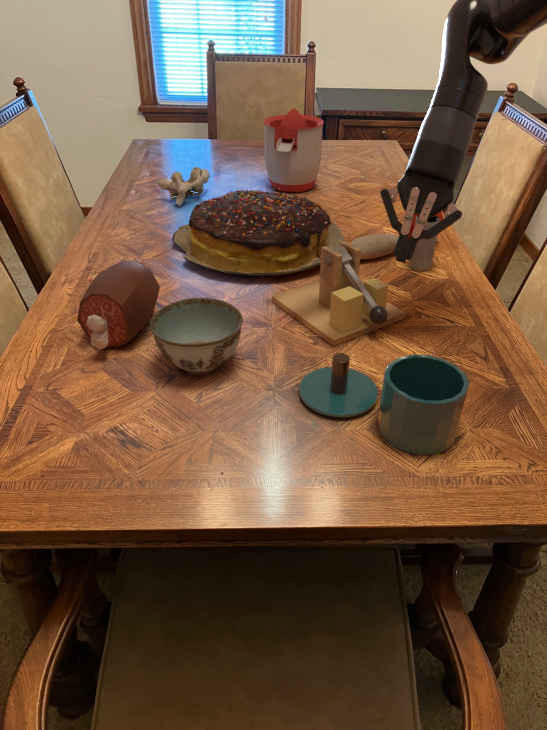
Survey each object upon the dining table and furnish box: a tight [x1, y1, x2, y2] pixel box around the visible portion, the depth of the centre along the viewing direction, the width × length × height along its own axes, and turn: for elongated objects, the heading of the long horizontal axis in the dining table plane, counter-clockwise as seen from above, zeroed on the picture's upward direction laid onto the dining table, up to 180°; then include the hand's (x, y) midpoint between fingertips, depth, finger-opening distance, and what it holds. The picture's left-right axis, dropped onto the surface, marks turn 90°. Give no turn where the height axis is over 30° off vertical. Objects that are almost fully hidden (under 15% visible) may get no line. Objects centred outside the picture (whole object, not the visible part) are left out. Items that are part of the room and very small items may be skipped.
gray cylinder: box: [408, 215, 440, 272], centre depth 114 cm, size 4×4×10 cm
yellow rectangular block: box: [362, 277, 389, 317], centre depth 97 cm, size 3×2×6 cm
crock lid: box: [298, 352, 379, 418], centre depth 81 cm, size 11×11×7 cm
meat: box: [76, 258, 161, 351], centre depth 94 cm, size 20×12×10 cm, turn 170°
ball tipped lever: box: [334, 246, 388, 324], centre depth 95 cm, size 15×3×3 cm, turn 34°
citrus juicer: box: [262, 108, 325, 193], centre depth 151 cm, size 16×17×20 cm
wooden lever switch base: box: [271, 240, 406, 347], centre depth 99 cm, size 18×16×12 cm
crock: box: [377, 354, 470, 456], centre depth 74 cm, size 10×10×8 cm
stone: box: [350, 233, 399, 260], centre depth 119 cm, size 6×6×12 cm
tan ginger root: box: [157, 166, 211, 208], centre depth 148 cm, size 9×14×8 cm, turn 136°
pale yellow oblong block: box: [329, 286, 364, 333], centre depth 94 cm, size 3×4×6 cm
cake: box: [171, 189, 346, 277], centre depth 123 cm, size 37×37×10 cm
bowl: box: [149, 297, 244, 376], centre depth 87 cm, size 14×13×8 cm
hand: (400, 261), depth 87 cm, fingers closed
